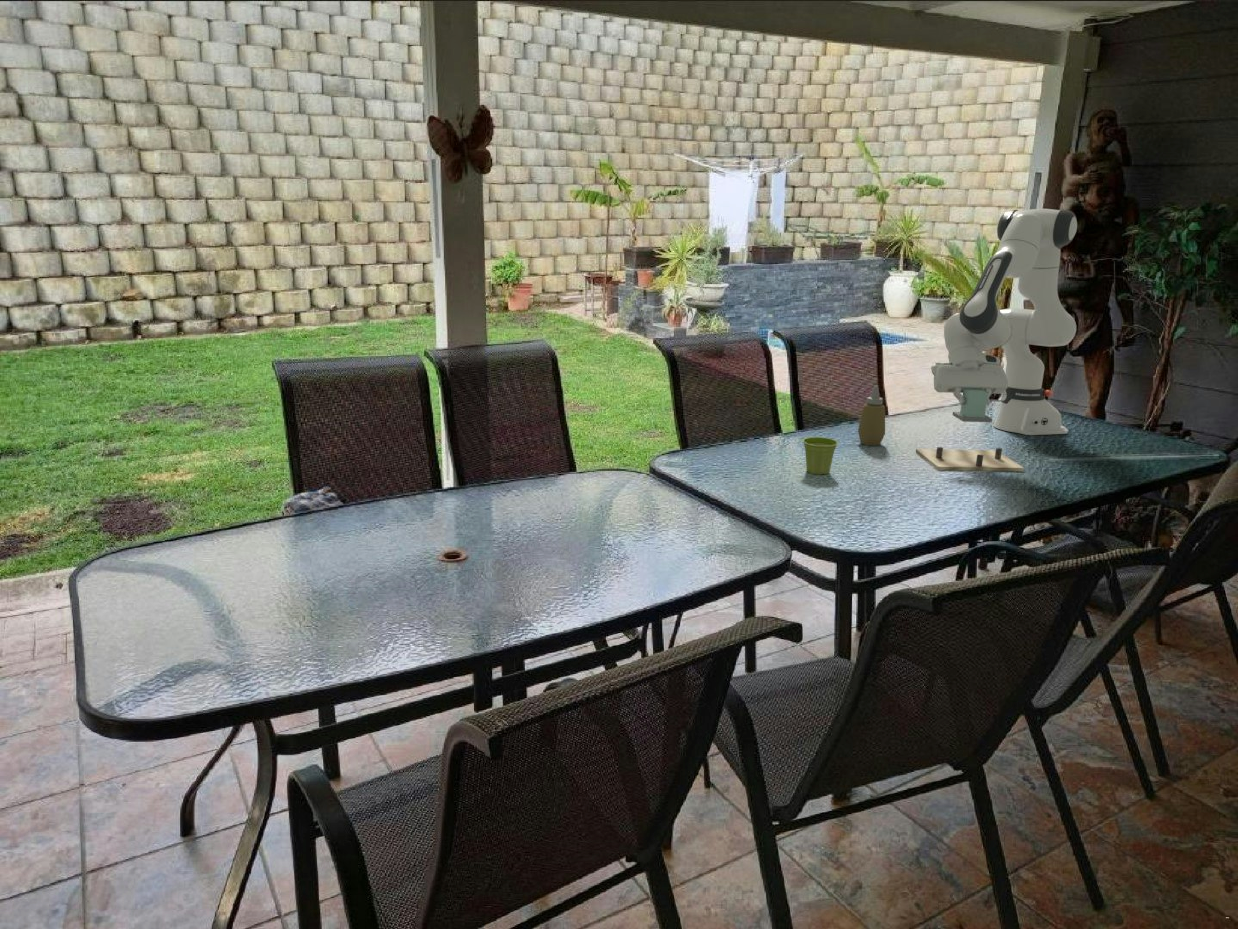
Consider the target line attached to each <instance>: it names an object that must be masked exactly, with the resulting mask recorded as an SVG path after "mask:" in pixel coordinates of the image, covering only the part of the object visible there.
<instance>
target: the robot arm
mask: <svg viewBox="0 0 1238 929" xmlns="http://www.w3.org/2000/svg"><path fill="white" fill-rule="evenodd" d="M996 226H997V228H996V234H997V239H998V240H999V244H998V248H997V250H996V252H995V253H994V254H993V255H992V256H991V257H990V258H989V260H988V262H987V263H986V265H985V268H984V269H983V272H982V273H981V275H980V278H979V280H978V282H977V284H976V286H975V288H974V290H973V292H972V293H971V295H970V297H969V298H968V299H967V300H966V301H965V303H964V304H963V305H962V307H961V309H960V312H957V313H955V314H953V315H951V316H949V317H948V319H947V320H946V321H945V323H944V326H943V337H944V344H945V349H946V350H947V351H948V355H947V357H948V359H947V360H948V362H935V364H934V363H933V364H932V365H931V373H932V375H933V389H934V390H935V391H936V392H937V393H949V394H950V393H951V394H953V396H954V397H955V398H956V400H957V401H958V402H959V405H960V406H961V405H965V404H966V403H967V400H966V397H963V389H981V390H983V391H985V392H987V393H988V398H987V405H986V406H989V404H991V402H990V397H991V395H993V394H997V395H999V394H1000V396H1001V397H1000V406H999V410H998V413H997V416H996V419H995V421H994V422H993V424H992V425H993V427H994V428H996V429H998V430H1001V431H1006V432H1011V433H1016V434H1021V435H1025V436H1040V435H1041V436H1043V435H1065V434H1069V433H1068V432H1069V430H1068V429H1067V427H1065V426H1064V425H1062V414H1061V413H1060V412H1059V410H1058V409H1057V408H1056V407H1054V405H1052V404H1051V403H1050V402H1049V401H1048V400H1047V399H1046V397H1047V398H1051V397H1052V395H1053V391H1052V390H1049V389H1044V388H1043V387H1042V386H1043V379H1044V373H1045V364H1044V363H1043V361H1042V360H1041V358H1039V357H1038V356H1036V355H1035V354H1034V353H1032V352H1031V349H1030V345H1033V346H1041V347H1062V346H1063V347H1064V346H1066V345H1069V343H1071V342H1072V340H1073V339H1074V338H1075V336H1076V332H1077V324H1076V321H1075V319H1074V317H1073V316H1072V315H1071V314H1070V313H1068V311H1067V310H1066V309H1065V308H1064V307H1063V305H1062V303H1061V300H1060V297H1059V293H1058V292H1059V291H1058V283H1059V282H1058V281H1059V272H1060V264H1061V249H1063V247H1065V246H1068V244H1070V243H1071V242H1072V241H1073V240H1074V238H1075V235H1076V233H1077V230H1078V221H1077V216H1076V214H1075V213H1074V212H1073V211H1071V210H1067V209H1060V210H1059V209H1051V208H1040V207H1039V208H1032V209H1019V210H1018V209H1011V210H1007V211H1005V212H1004V213H1003V214H1002V215H1001V216H1000V217H999V221H998V223H997V225H996ZM1005 279H1018V283H1017V289H1018V291H1019V293H1020V294H1021V295H1022V297H1024V298H1026V299H1028V300H1029V301H1030V302H1031V303H1032V305H1033V307H1034V309H1027V308H1014V307H1013V308H1003V309H1000V308H999V306H998V303H997V296H998V295H999V292H1000V290H1001V288H1002V286H1003V283H1004V281H1005ZM1000 347H1001V348H1002V350H1003V352H1004V355H1005V360H1006V369H1004V368H1003V367H1002V366H1001V365H1000V364H1001V359H1000V358H999V357H997V356H994V355H990V354H988V353H985V352H986V351H991V350H994V349H997V348H1000ZM1005 370H1006V371H1005Z"/></svg>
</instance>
